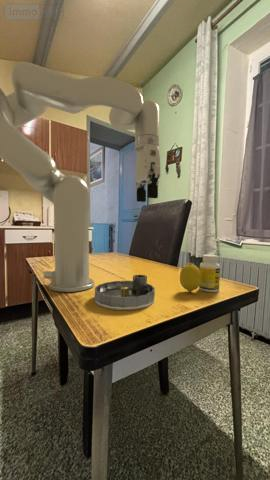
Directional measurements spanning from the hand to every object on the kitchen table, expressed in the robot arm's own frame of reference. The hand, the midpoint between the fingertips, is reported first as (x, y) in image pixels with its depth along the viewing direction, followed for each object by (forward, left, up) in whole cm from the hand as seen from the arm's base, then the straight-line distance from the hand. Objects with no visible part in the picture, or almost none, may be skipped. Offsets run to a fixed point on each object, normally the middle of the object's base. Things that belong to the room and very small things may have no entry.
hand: (146, 199), depth 70 cm
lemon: (+13, -11, -27) cm, 31 cm away
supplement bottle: (+19, -7, -27) cm, 33 cm away
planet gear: (+1, -18, -25) cm, 31 cm away
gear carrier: (-3, -20, -26) cm, 33 cm away
